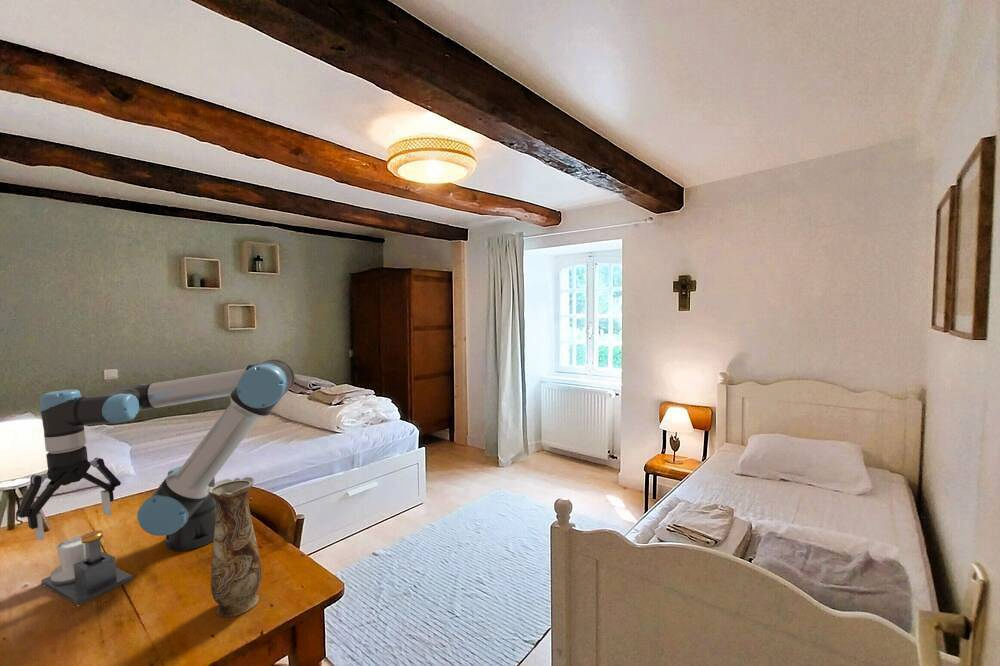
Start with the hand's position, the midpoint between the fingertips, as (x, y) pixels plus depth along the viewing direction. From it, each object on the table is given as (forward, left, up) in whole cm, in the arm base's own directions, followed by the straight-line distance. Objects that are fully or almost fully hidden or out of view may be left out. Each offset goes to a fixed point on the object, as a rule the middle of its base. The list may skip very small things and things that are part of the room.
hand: (75, 525), depth 115 cm
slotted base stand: (-4, +2, -14) cm, 15 cm away
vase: (-50, +11, -15) cm, 53 cm away
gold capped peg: (-9, +4, -8) cm, 13 cm away
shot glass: (0, 0, -12) cm, 12 cm away
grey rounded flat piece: (0, 0, -13) cm, 13 cm away
